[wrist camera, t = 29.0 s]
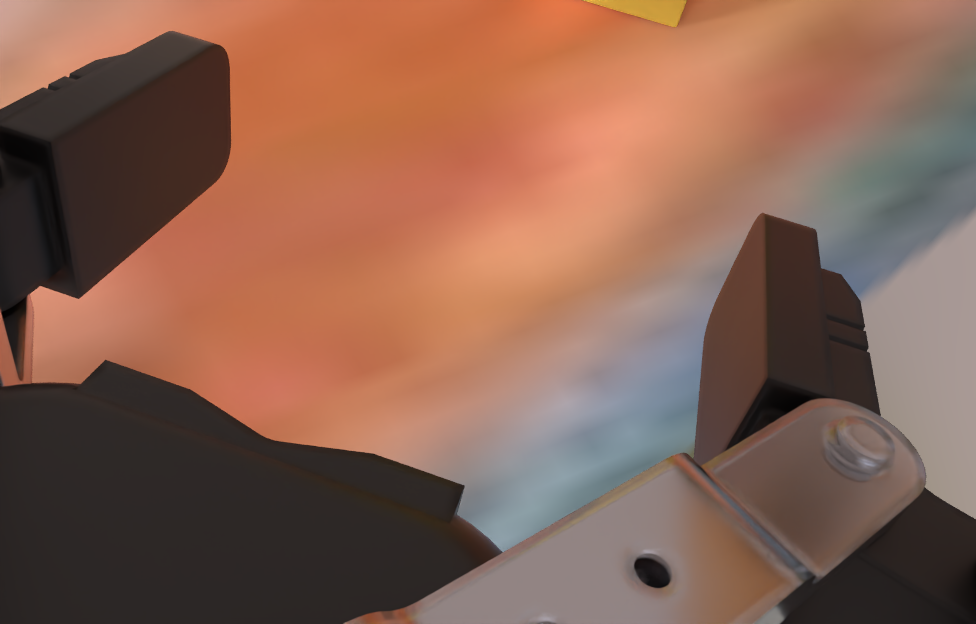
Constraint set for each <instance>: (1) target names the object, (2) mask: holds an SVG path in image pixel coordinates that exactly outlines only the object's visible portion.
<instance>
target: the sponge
mask: <svg viewBox="0 0 976 624" xmlns="http://www.w3.org/2000/svg"><path fill="white" fill-rule="evenodd" d="M583 1H586V2H590V3H593V4H596V5H600V6H603V7H607V8H610V9H613V10H617V11H620V12H624V13H627V14H630V15H634V16H637V17H641V18H644V19H647V20H651V21H654V22H658V23H661V24H664V25H668V26H671V27H677V25H678V23H679V20H680V17H681V15H682V12H683V10H684V7H685V5H686V2H687V0H583Z"/></svg>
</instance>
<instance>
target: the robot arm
mask: <svg viewBox="0 0 976 624" xmlns="http://www.w3.org/2000/svg"><path fill="white" fill-rule="evenodd" d="M230 148H231V117H230V67H229V59H228V55H227V53H226V51H225V49H224V48H223V47H222V46H220V45H217V44H214V43H211V42H208V41H204V40H201V39H198V38H194V37H191V36H188V35H185V34H181V33H178V32H175V31H169V32H166V33H164V34H162V35H160V36H158V37H156V38H154V39H153V40H151V41H149V42H147V43H145V44H143V45H141V46H139V47H137V48H136V49H134V50H132V51H130V52H128V53H126V54H122V55H118V56H113V57H108V58H104V59H99V60H95V61H93V62H91V63H90V64H88V65H86V66H84V67H82V68H80V69H78V70H76V71H74V72H72V73H70V76H69V77H65V76H64V77H62V78H60V79H58V80H57V81H55V82H53V83H51V84H49V86H48V89H46V88H41V89H39V90H37V91H35V92H33V93H31V94H29V95H27V96H25V97H23V98H22V99H20V100H18V101H16V102H14V103H12V104H10V105H8V106H6V107H4V108H2V109H0V624H976V519H974V518H972V517H971V516H969V515H967V514H965V513H964V512H962V511H960V510H959V509H957V508H955V507H953V506H952V505H950V504H948V503H946V502H945V501H943V500H942V499H940V498H939V497H937V496H935V495H934V494H933V493H931V492H930V491H929V490H927V489H926V488H925V484H926V472H925V467H924V464H923V462H922V459H921V457H920V455H919V454H918V452H917V450H916V449H915V447H914V446H913V445H912V444H911V442H910V441H909V440H908V439H907V438H906V437H905V436H904V435H903V434H902V432H900V431H899V430H898V429H897V428H896V427H895V426H893V425H892V424H891V423H889V422H888V421H887V420H885V419H884V418H882V417H881V414H880V409H879V403H878V398H877V392H876V387H875V381H874V375H873V369H872V364H871V358H870V353H869V352H867V349H868V341H867V336H866V331H863V330H864V327H865V324H864V319H863V313H862V308H861V302H860V300H859V299H858V297H857V296H856V294H855V293H854V292H853V290H852V289H851V287H850V286H849V285H848V283H847V282H846V280H845V279H844V278H843V276H842V275H841V274H838V273H835V272H831V271H828V270H825V269H822V268H821V265H820V257H819V248H818V239H817V232H816V230H815V229H813V228H810V227H807V226H803V225H800V224H797V223H794V222H790V221H787V220H784V219H781V218H777V217H774V216H771V215H768V214H764V213H762V214H760V215H759V216H758V218H757V219H756V220H755V222H754V224H753V225H752V227H751V229H750V231H749V233H748V236H747V238H746V240H745V242H744V244H743V246H742V248H741V250H740V252H739V254H738V256H737V258H736V260H735V262H734V264H733V266H732V268H731V271H730V273H729V275H728V277H727V279H726V281H725V283H724V285H723V287H722V289H721V291H720V293H719V295H718V297H717V300H716V302H715V304H714V307H713V309H712V312H711V315H710V318H709V321H708V324H707V328H706V332H705V337H704V344H703V356H702V368H701V379H700V391H699V403H698V414H697V426H696V438H695V449H694V459H692V458H691V457H690V456H689V455H688V454H687V453H679V454H676V455H673V456H671V457H669V458H667V459H665V460H663V461H661V462H660V463H658V464H656V465H655V466H653V467H651V468H649V469H648V470H646V471H644V472H642V473H641V474H639V475H637V476H635V477H634V478H632V479H630V480H628V481H627V482H625V483H623V484H621V485H620V486H618V487H616V488H615V489H613V490H611V491H609V492H608V493H606V494H604V495H602V496H601V497H599V498H597V499H595V500H594V501H592V502H590V503H588V504H587V505H585V506H583V507H581V508H580V509H578V510H576V511H574V512H573V513H571V514H569V515H568V516H566V517H564V518H562V519H561V520H559V521H557V522H555V523H554V524H552V525H550V526H548V527H547V528H545V529H543V530H541V531H540V532H538V533H536V534H534V535H533V536H531V537H529V538H528V539H526V540H524V541H522V542H521V543H519V544H517V545H515V546H514V547H512V548H510V549H508V550H507V551H505V552H502V551H501V550H500V549H499V548H498V547H497V546H496V545H495V544H494V543H493V542H492V541H491V540H490V539H489V538H488V537H486V536H485V535H484V534H483V533H481V532H480V531H479V530H478V529H477V528H475V527H474V526H473V525H472V524H470V523H469V522H467V521H466V520H464V519H463V518H461V517H459V516H458V515H457V512H458V508H459V504H460V501H461V497H462V494H463V490H464V485H461V484H458V483H455V482H453V481H450V480H447V479H444V478H441V477H438V476H435V475H433V474H430V473H427V472H424V471H421V470H418V469H415V468H413V467H410V466H407V465H404V464H401V463H398V462H395V461H393V460H390V459H387V458H384V457H381V456H378V455H375V454H371V453H363V452H356V451H348V450H340V449H333V448H325V447H317V446H310V445H302V444H294V443H287V442H279V441H274V440H271V439H268V438H265V437H263V436H262V435H260V434H258V433H257V432H255V431H254V430H252V429H251V428H249V427H247V426H246V425H244V424H243V423H241V422H240V421H238V420H237V419H235V418H234V417H232V416H230V415H229V414H227V413H226V412H224V411H223V410H221V409H220V408H218V407H217V406H215V405H213V404H212V403H210V402H209V401H207V400H206V399H204V398H203V397H201V396H200V395H198V394H197V393H195V392H193V391H192V390H190V389H187V388H184V387H181V386H179V385H176V384H173V383H170V382H167V381H164V380H161V379H159V378H156V377H153V376H150V375H147V374H144V373H141V372H139V371H136V370H133V369H130V368H127V367H124V366H121V365H119V364H116V363H113V362H110V361H107V360H105V361H104V362H103V363H102V364H101V365H100V366H99V367H98V368H97V369H96V370H95V371H94V372H93V373H92V374H91V375H90V376H89V377H88V378H87V379H86V380H85V381H84V382H83V383H82V384H74V383H49V382H48V383H32V358H33V327H34V310H33V305H32V300H31V296H30V293H31V292H33V291H34V290H35V289H37V288H38V287H39V286H43V287H46V288H49V289H51V290H54V291H57V292H60V293H63V294H66V295H69V296H72V297H75V298H78V299H79V298H81V297H82V296H83V295H84V294H85V293H86V292H88V291H89V290H90V289H91V288H92V287H93V286H95V285H96V284H97V283H98V282H99V281H100V280H102V279H103V278H104V277H105V276H106V275H107V274H109V273H110V272H111V271H112V270H113V269H114V268H116V267H117V266H118V265H119V264H120V263H121V262H123V261H124V260H125V259H126V258H127V257H129V256H130V255H131V254H132V253H133V252H134V251H136V250H137V249H138V248H139V247H140V246H141V245H143V244H144V243H145V242H146V241H147V240H148V239H150V238H151V237H152V236H153V235H154V234H155V233H157V232H158V231H159V230H160V229H161V228H162V227H164V226H165V225H166V224H167V223H168V222H170V221H171V220H172V219H173V218H174V217H175V216H177V215H178V214H179V213H180V212H181V211H182V210H184V209H185V208H186V207H187V206H188V205H189V204H191V203H192V202H193V201H194V200H195V199H196V198H198V197H199V196H200V195H201V194H202V193H203V192H205V191H206V190H207V189H208V188H209V187H210V186H212V185H213V184H214V183H215V182H216V181H217V180H218V179H219V178H220V176H221V175H222V173H223V171H224V169H225V167H226V165H227V162H228V159H229V154H230Z"/></svg>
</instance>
